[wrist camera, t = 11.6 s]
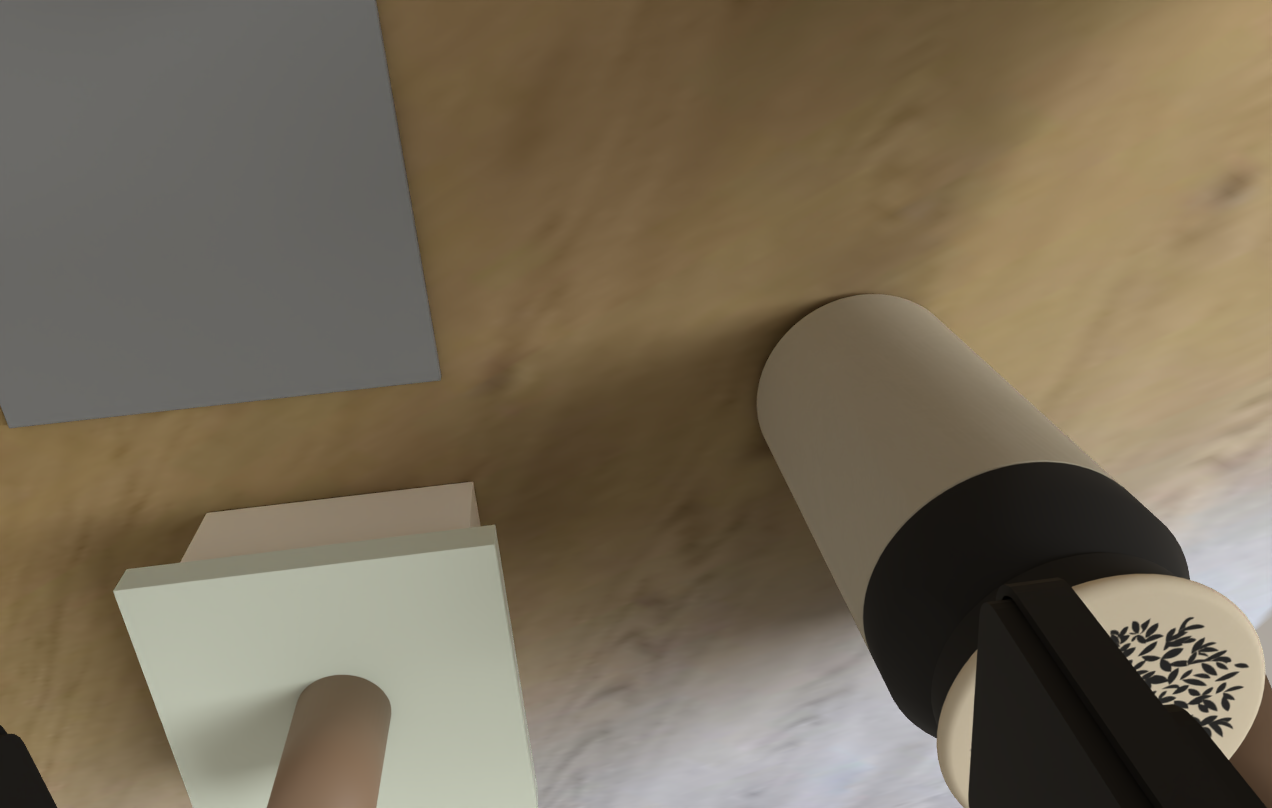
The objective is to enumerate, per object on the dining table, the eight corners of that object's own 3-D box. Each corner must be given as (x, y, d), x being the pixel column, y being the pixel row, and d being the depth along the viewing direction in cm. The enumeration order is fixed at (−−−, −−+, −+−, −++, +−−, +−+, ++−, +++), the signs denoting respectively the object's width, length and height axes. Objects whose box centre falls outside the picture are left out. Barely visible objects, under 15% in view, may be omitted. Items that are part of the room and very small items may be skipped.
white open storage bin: (472, 481, 38) (467, 554, 34) (506, 684, 42) (505, 773, 38) (206, 513, 37) (164, 591, 33) (268, 715, 42) (238, 810, 37)
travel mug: (770, 285, 36) (977, 572, 20) (978, 295, 37) (1335, 575, 21) (742, 478, 39) (899, 858, 23) (933, 482, 40) (1212, 847, 24)
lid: (495, 524, 33) (490, 667, 27) (537, 787, 38) (541, 960, 32) (126, 569, 32) (29, 727, 26) (220, 831, 38) (158, 1017, 31)
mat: (361, -84, 30) (359, -84, 29) (441, 375, 36) (440, 380, 36) (-165, -42, 29) (-174, -42, 28) (14, 423, 35) (9, 428, 35)
